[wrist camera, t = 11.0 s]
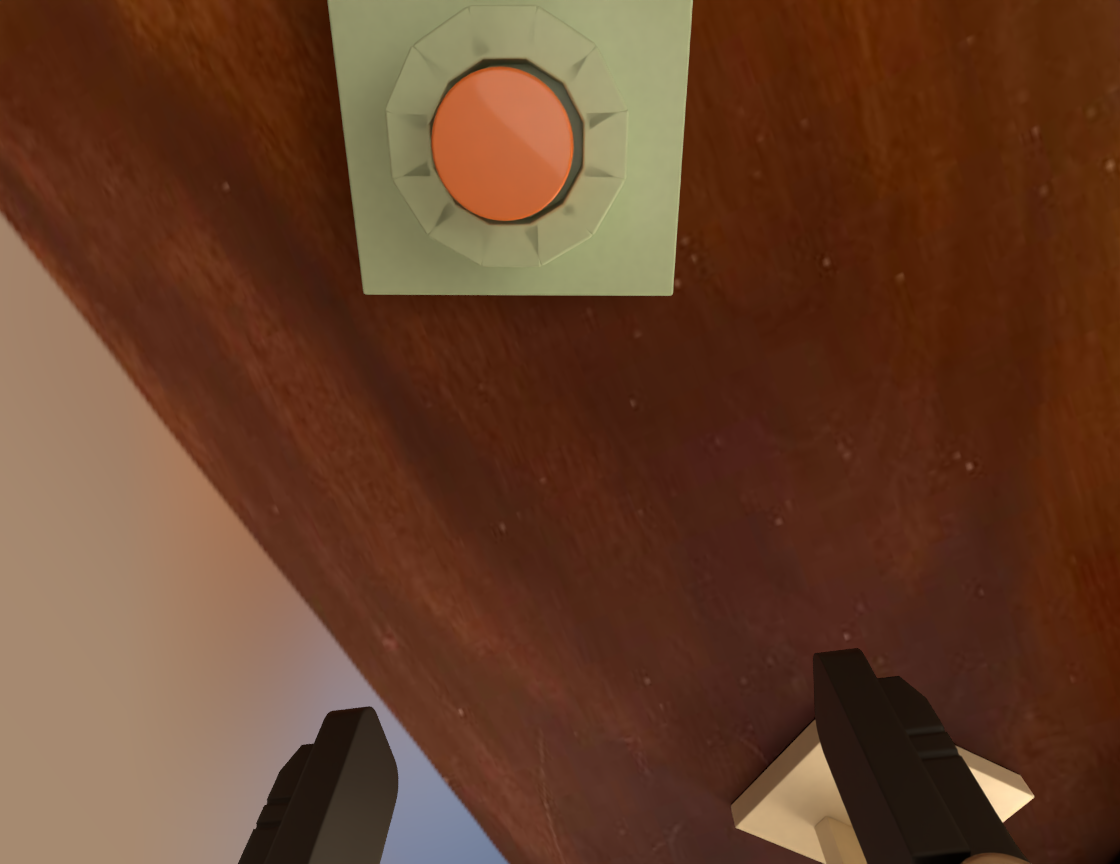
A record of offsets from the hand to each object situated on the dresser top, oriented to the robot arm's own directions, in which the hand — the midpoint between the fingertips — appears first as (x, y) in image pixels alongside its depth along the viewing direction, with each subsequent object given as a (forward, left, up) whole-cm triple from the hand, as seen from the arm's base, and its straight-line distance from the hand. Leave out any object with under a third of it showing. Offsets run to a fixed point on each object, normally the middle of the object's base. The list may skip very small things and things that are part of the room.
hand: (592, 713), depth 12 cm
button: (-2, +9, -11) cm, 15 cm away
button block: (-2, +9, -15) cm, 17 cm away
